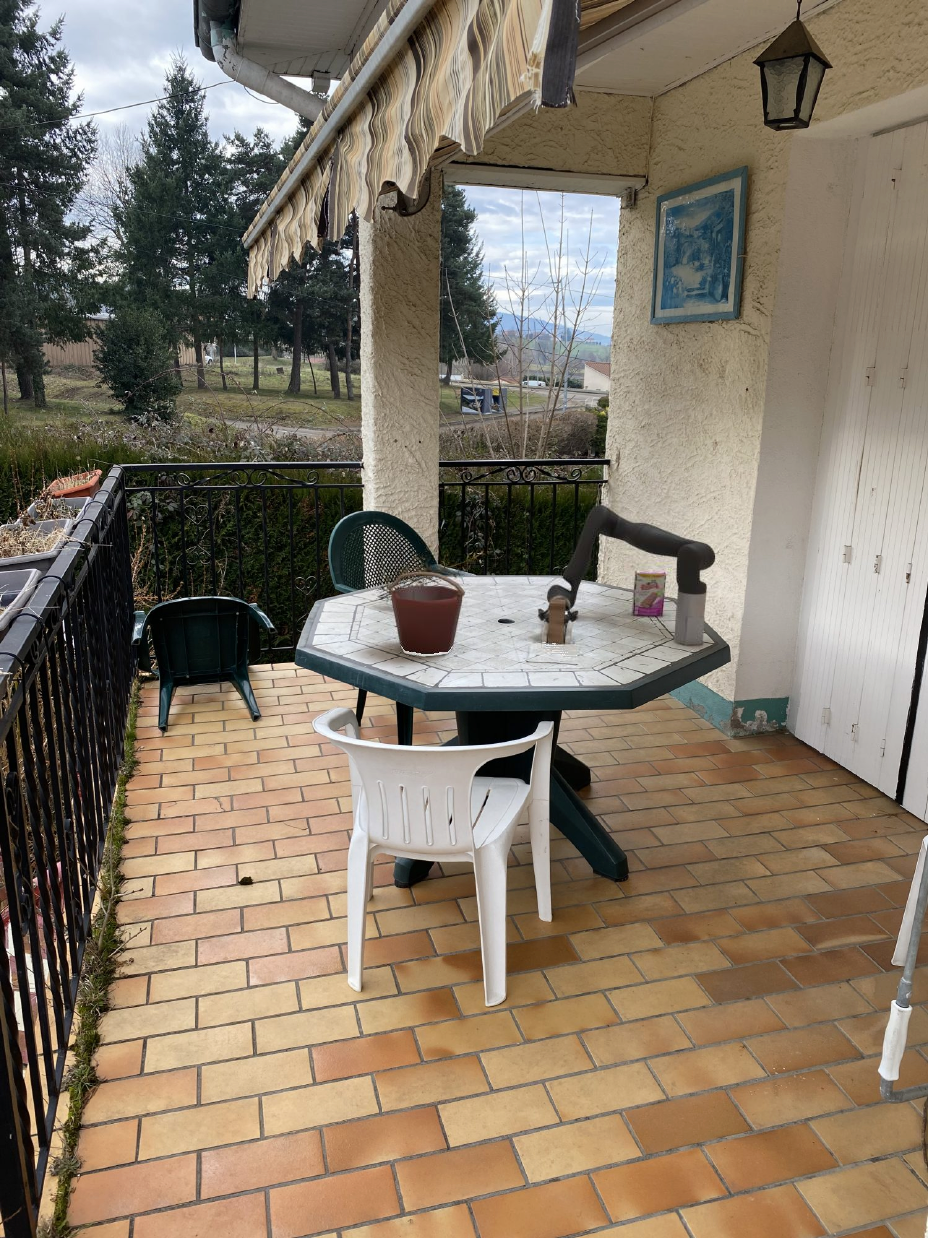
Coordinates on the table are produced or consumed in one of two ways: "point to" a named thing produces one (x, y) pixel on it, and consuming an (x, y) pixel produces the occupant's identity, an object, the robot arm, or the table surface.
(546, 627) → the chute
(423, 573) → the bucket
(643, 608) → the candy bar box
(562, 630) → the walnut block
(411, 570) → the dried plant
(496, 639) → the table surface
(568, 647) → the mat
